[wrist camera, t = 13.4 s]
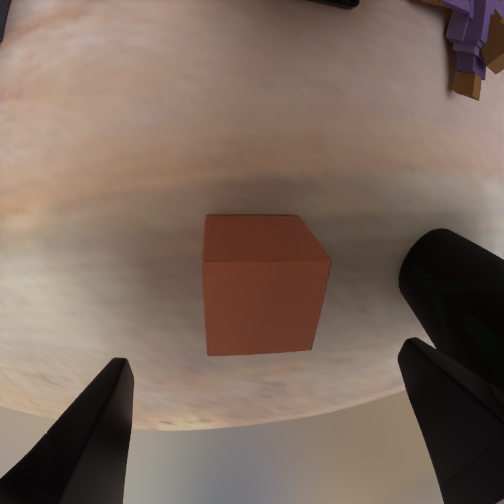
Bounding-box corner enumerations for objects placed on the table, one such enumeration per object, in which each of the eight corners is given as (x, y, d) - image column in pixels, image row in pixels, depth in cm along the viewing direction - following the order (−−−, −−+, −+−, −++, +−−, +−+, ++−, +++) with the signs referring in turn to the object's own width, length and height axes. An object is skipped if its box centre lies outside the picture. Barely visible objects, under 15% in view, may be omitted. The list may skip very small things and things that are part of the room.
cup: (390, 331, 19) (473, 467, 8) (375, 244, 15) (522, 416, 4) (468, 283, 18) (562, 384, 7) (468, 195, 14) (612, 294, 4)
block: (298, 215, 14) (332, 259, 10) (289, 292, 16) (312, 350, 12) (205, 214, 13) (202, 262, 9) (207, 294, 15) (207, 356, 11)
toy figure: (396, -66, 7) (426, -104, 2) (494, -10, 7) (535, -27, 2) (395, 72, 11) (451, 46, 6) (501, 127, 11) (561, 134, 6)
